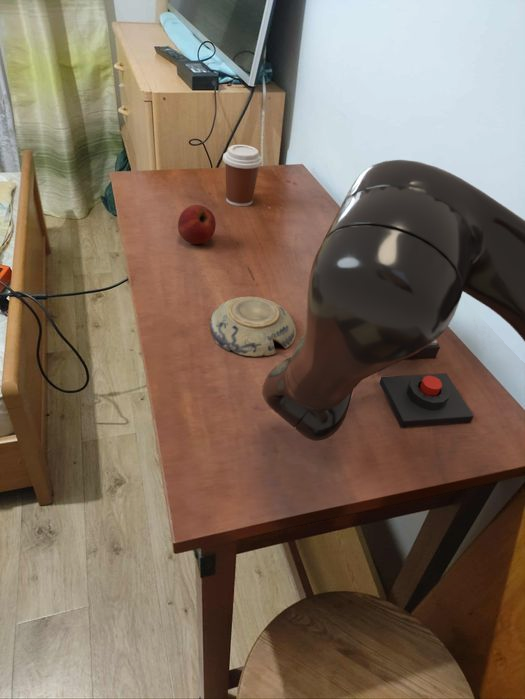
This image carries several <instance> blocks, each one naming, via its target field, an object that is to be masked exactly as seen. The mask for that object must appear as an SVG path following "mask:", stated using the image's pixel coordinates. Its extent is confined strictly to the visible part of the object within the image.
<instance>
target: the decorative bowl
mask: <svg viewBox="0 0 525 699" xmlns="http://www.w3.org/2000/svg"><path fill="white" fill-rule="evenodd" d="M209 324H210V325H209V326H210V330H211V333H212V335H213V339H214V342H215V344H216V345H218V346H219V347H221V348H222V349H224V350H227V351H228V352H230V351H232V352H233V353H235V354H237V355H240V356H245V357H254V358H257V357H263V356H265V357H267V356H269V357H270V356H273V355H275V354H276V348H275V342H276V343H278V344H280V345H281V346H282V348H284V349H285V350H287V349H288V348H290V347H291V345H292V344H293V343H294V342H295V340H296V338H297V328H296V324H295V322H294V320H293V318H292V316H291V315H290V314H289V313H288V311H287V310H286V309H285V308H283V306H281V305H280V304H279V303H276V302H275V301H272V300H270V299H267V298H264V297H260V296H253V295H251V296H240V297H239V296H238V297H233V298H231V299H228V300H226V301H224V302H223V303H221V304H220V305H219V306H217V308H216V309H214V310H213V312H212V313H211V317H210V322H209ZM274 341H275V342H274Z"/></svg>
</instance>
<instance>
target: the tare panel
mask: <svg viewBox="0 0 525 699" xmlns="http://www.w3.org/2000/svg"><path fill="white" fill-rule="evenodd" d="M425 376H433V377H436V378H438V379H439V380H440V381H441V383H442V387H441V389H440V391H439V393H438V395H436V396H428V395H425V394H424V393H423V392H421V390H420V384H421V382H422V380H423V378H424V377H425ZM378 384H379V386H380V388H381V390H382V392H383V395H384V396H385V398H386V400H387V402H388V404H389V406H390V408H391V410H392V412H393V414H394V417H395V418H396V420H397V423H398V425H399V426H400V428H413V427H414V428H415V427H426V426H427V427H428V426H441V425H453V424H455V425H456V424H468V423H471V422H472V420H473V419H474V417H475V416H474V413H473V412H472V411H471V409H470V408H469V406H468V404H467V403H466V401H465V400H464V398H463V396H462V395H461V393H460V391H459V390H458V389H457V387H456V385H455V384H454V383H453V381H452V380H451V378H450V376H449V375H448V373H447V372H445V373H444V372H443V373H423V374H407V375H405V374H403V375H388V376H387V375H385V376H384V375H383V376H381V377H380V379H379V382H378Z"/></svg>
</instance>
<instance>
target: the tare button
mask: <svg viewBox="0 0 525 699" xmlns="http://www.w3.org/2000/svg"><path fill="white" fill-rule="evenodd" d="M441 387H442V383H441V381H440V380H439V379H438V378H436V377H433V376H425V377H424V378H423V380H422V382H421V384H420V390H421V392H423V393H424V394H425V395H428V396H436V395H438V393H439V391H440V389H441Z"/></svg>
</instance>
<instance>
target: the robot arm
mask: <svg viewBox="0 0 525 699" xmlns="http://www.w3.org/2000/svg"><path fill="white" fill-rule="evenodd" d="M463 293H465V294H466V295H468V296H470V297H471V298H473V299H474V300H476V301H477V302H479V303H481V304H482V305H484V306H485V307H486V308H488V309H490V310H491V311H493V312H494V313H495V314H496V315H498V316H499V317H500V318H501V319H503V320H504V321H505V322H506V323H507V324H509V325H510V327H511V328H512V329H513V330H514V331H515V332H516V333H517V334H518V335H519V337H520V338H522V340H523V341H524V342H525V219H524V218H523V217H521V216H519V215H518V214H516V213H515V212H513V211H512V210H511V209H509V208H508V207H507V206H505V205H503V204H502V203H500V202H499V201H497V200H496V199H495V198H493V197H491V196H490V195H489V194H487V193H486V192H484V191H482V190H481V189H480V188H478V187H476V186H474V185H473V184H471V183H469V182H468V181H466V180H464V179H463V178H461V177H459V176H457V175H455V174H453V173H451V172H450V171H447V170H445V169H443V168H439V167H437V166H434V165H431V164H427V163H425V162H421V161H415V160H410V159H409V160H408V159H390V160H385V161H381V162H378V163H375V164H372V165H370V166H369V167H368V168H365V170H363V171H362V172H361V173H360V174H359V175H358V176H357V178H356V179H355V181H354V182H353V184H352V185H351V187H350V189H349V190H348V192H347V194H346V196H345V198H344V199H343V201H342V203H341V206H340V208H339V209H338V211H337V213H336V214H335V217H334V219H333V221H332V223H331V225H330V227H329V228H328V230H327V233H326V234H325V237H324V238H323V240H322V243H321V244H320V246H319V249H318V250H317V252H316V255H315V257H314V259H313V263H312V265H311V269H310V274H309V280H308V288H307V296H306V309H305V310H306V312H305V314H306V315H305V320H306V321H305V330H304V334H303V335H302V336H301V338H300V339H299V341H298V343H297V344H296V346H295V348H294V350H293V352H292V355H291V356H289V357H288V358H286V359H284V360H282V361H281V362H280V363H278V364H277V365H276V366H275V367H274V368H273V369H272V370H270V372H269V373H268V375H267V376H266V378H265V379H264V382H263V384H262V388H261V394H262V397H263V400H264V402H265V404H266V405H267V406H268V407H269V408H270V409H271V410H272V411H273V412H274V413H276V414H278V416H279V417H280V418H282V419H283V420H284V421H285V422H286V423H287V424H289V425H290V426H291V427H293V428H294V429H295V430H296V431H297V432H299V434H301V435H302V436H303V437H305V438H306V439H308V440H310V441H313V442H321V441H324V440H327V439H329V438H331V437H332V436H334V435H335V434H336V433H337V432H338V431H339V430H340V428H341V427H342V425H343V423H344V421H345V419H346V416H347V413H348V411H349V408H350V405H351V400H352V396H353V392H354V390H355V388H356V387H357V386H358V385H359V384H360V383H361V382H362V381H363V380H365V379H367V378H369V377H371V376H374V375H375V374H377V373H379V372H381V371H383V370H386V369H387V368H389V367H391V366H393V365H395V364H398V363H400V362H402V361H404V360H407V359H406V358H408V357H410V356H412V355H414V354H416V353H417V352H419V351H421V350H422V349H424V348H425V347H427V346H428V345H430V344H431V343H432V342H433V341H435V340H436V341H437V340H438V338H439V337H440V336H441V335H442V334H443V333H444V332H445V331H446V329H447V328H448V326H449V325H450V323H451V322H452V320H453V318H454V317H455V314H456V312H457V309H458V308H459V307H458V306H459V303H460V301H461V299H462V295H463Z"/></svg>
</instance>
